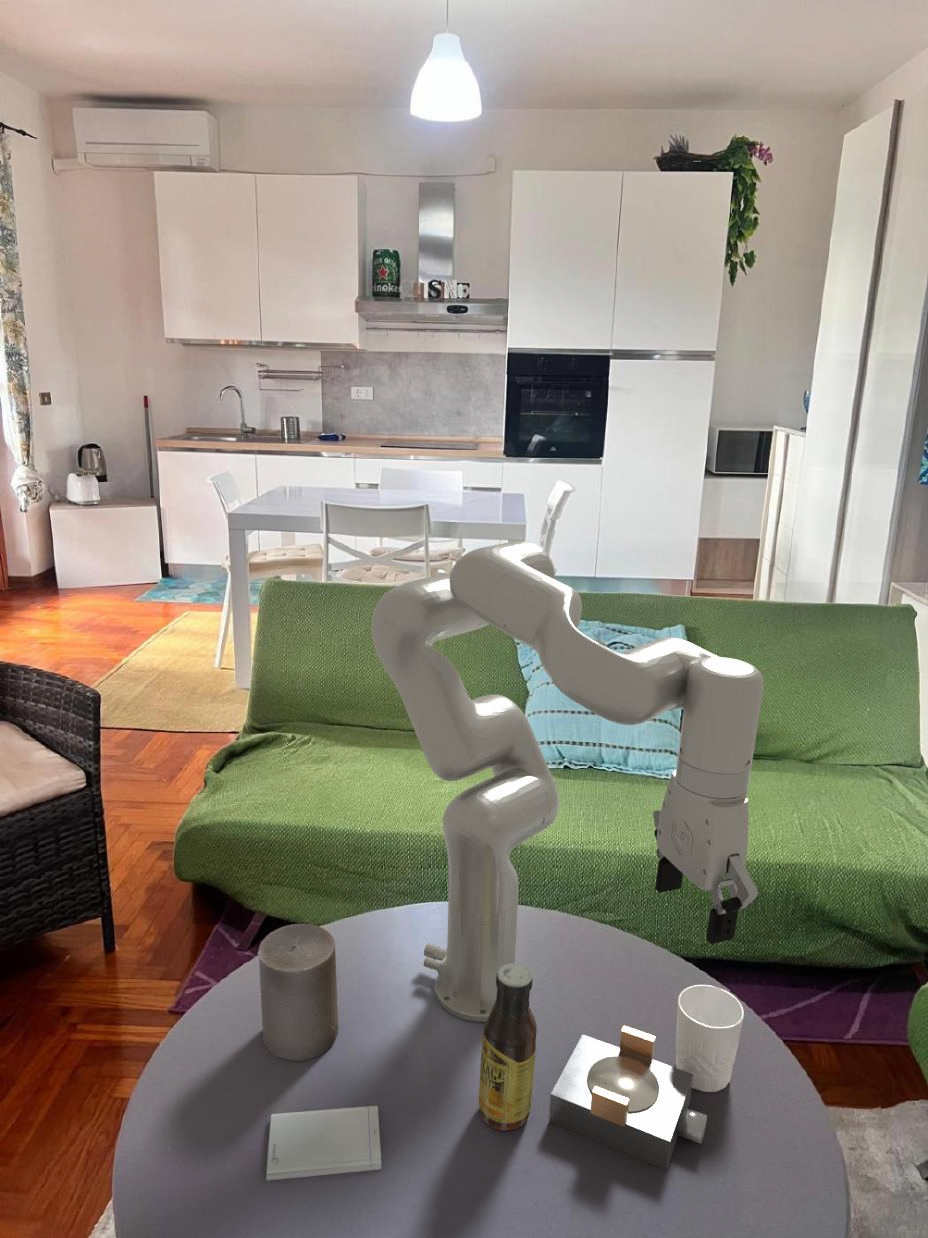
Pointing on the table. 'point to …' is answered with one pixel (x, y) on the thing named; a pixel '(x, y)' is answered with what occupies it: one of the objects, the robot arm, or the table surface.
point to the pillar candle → (298, 991)
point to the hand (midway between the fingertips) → (692, 913)
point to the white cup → (707, 1035)
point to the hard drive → (323, 1142)
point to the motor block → (626, 1098)
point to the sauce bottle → (508, 1052)
